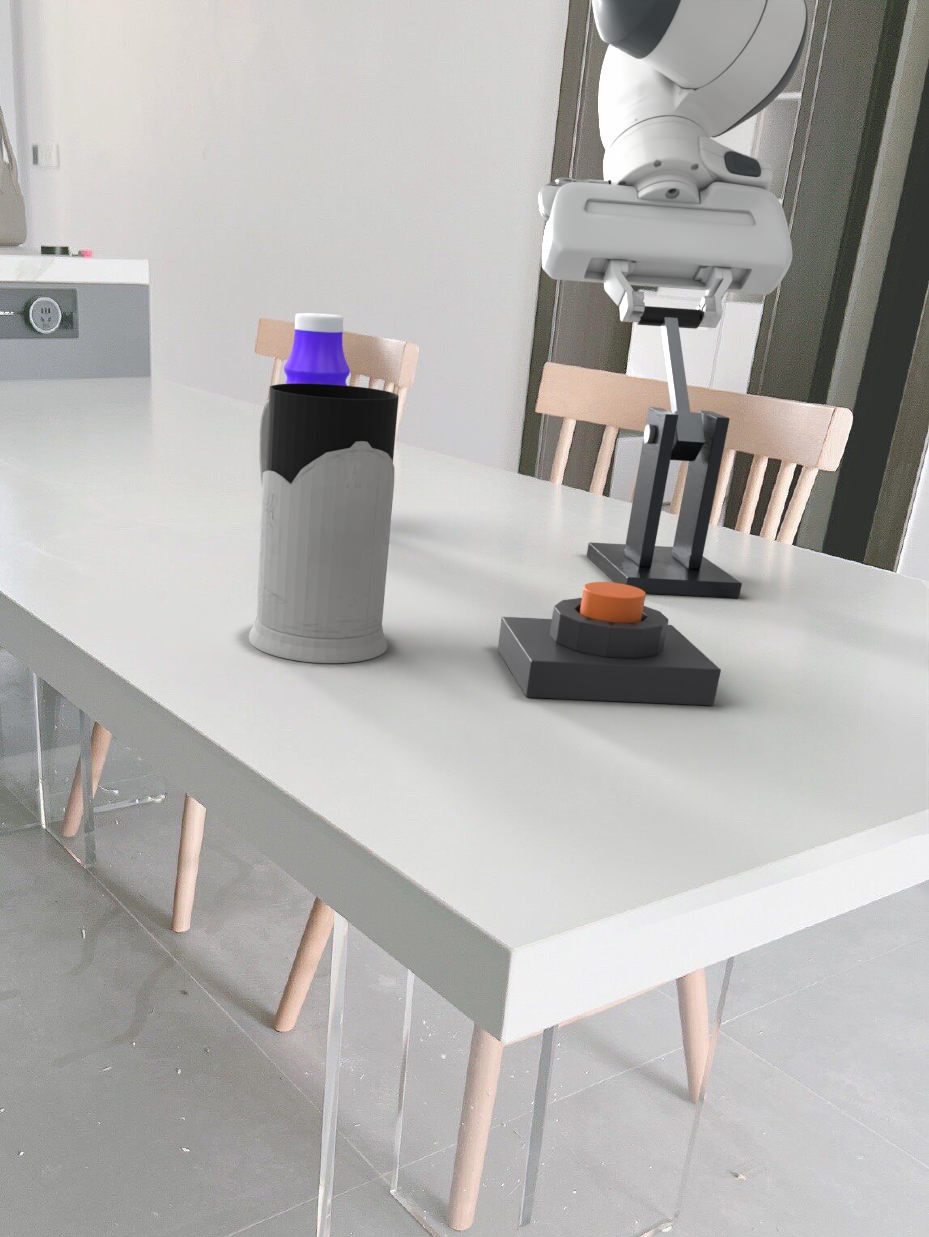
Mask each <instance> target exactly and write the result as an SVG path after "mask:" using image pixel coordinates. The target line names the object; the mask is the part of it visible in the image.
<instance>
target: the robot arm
mask: <svg viewBox="0 0 929 1237" xmlns="http://www.w3.org/2000/svg"><path fill="white" fill-rule="evenodd" d="M591 4H592V12H593V16H594V22H595V26H596V29H597V33H598V35H599V37H600V39H601V40H602V41H603V42H604V43H606V44H607V45H608V46H607V49H606V51H605V55H604V59H603V62H602V66H601V70H600V78H599V85H598V119H599V120H598V121H599V132H600V139H601V142H602V145H603V147H604V149H605V152H604V156H603V163H602V165H603V166H602V168H603V170H602V171H603V179H591V178H590V179H576V178H574V179H573V178H572V177H562V176H561V177H557V178H556V179H555V181H551V182H548V183H546V184H545V185H543V186H542V187H541V189H540V191H539V193H538V206H539V212H540V216H541V217H542V218H543V219H544V220H545V221H546V224H545V229H544V234H543V240H542V252H541V267H542V269H543V271H544V272H545V273H546V274H547V275H548V277H550V278H551V279H552V280H557V281H569V282H570V281H571V282H584V283H597V284H598V283H599V284H603V289H604V291H605V293H606V294H607V295H608V296H609V298H610V299H611V300H612V301H613V303H615V305H616V306H617V307H619V319H620V322H624V323H626V322H627V323H636V322H640V320H641V318H640V317H641V316H642V315H643V313H644V310H645V306H646V303H645V302H644V300H645V292H644V291H639V290H635V289H634V288H633V287H632V286H641V287H652V288H653V287H654V288H667V289H682V290H695V291H705V295H703V296H702V298H701V300H700V302H699V303H700V304H699V305H698V306H697V308H696V310H700V311H701V322H700V324H699V327H698V328H708V329H709V328H710V329H716V328H717V327H718V325H719V323H720V322H721V320H722V316H723V304H722V301H723V299H724V297H725V295H726V293H735V294H736V293H737V294H738V293H739V294H749V295H750V294H751V295H762V296H764V295H765V296H767V295H770V294H771V293H772V292H773V291H774V290H775V289H777V287H779V285H780V284H781V283H782V281H783V279H784V278H785V277H786V274H787V272H788V271H789V269H790V267H791V264H792V261H793V245H792V239H791V234H790V229H789V224H788V221H787V217H786V214H785V210H784V207H783V205H782V203H781V201H780V200H779V199H778V197H777V196H776V195H775V194H774V193H773V192H771V191H770V187H771V184H772V181H773V178H774V172H773V167H772V166H771V165H770V163H769V162H767V161H764V160H762V159H759V158H757V157H753V156H750V155H748V154H745V153H742V152H739V151H737V150H735V149H733V148H730V147H728V146H725V145H723V144H721V143H720V142H718V141H716V140H715V138H717V137H718V138H719V137H720V136H722V135H724V134H726V133H728V132H730V131H732V130H733V129H735V128H736V127H738V126H740V125H741V124H743V123H744V122H746V121H749V119H751V118H753V117H754V116H756V115H757V114H759V113H760V112H761V111H763V110H764V109H765V108H767V107H768V106H769V105H771V103H773V101H775V99H777V98H778V96H779V95H781V93H783V91H784V90H785V89H786V87H787V86H788V85H789V83H790V82H791V81H792V79H793V77H794V75H795V73H796V70H797V68H798V66H799V64H800V60H801V59H802V55H803V52H804V48H805V45H806V40H807V35H808V27H809V13H808V6H807V5H808V4H807V2H806V0H591Z"/></svg>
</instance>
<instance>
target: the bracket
mask: <svg viewBox="0 0 929 1237" xmlns="http://www.w3.org/2000/svg"><path fill="white" fill-rule="evenodd" d="M697 413H701V414H702V421H703V429H704V436H705V443H704V445H703V447H702V449H701V450H700V452H699V454H698V456H697V457H696V459H695V461H688V464H687V470H686V476H685V481H684V485H683V491H682V496H681V502H680V506H679V507H680V508H679V514H678V517H677V518H678V519H677V523H676V529H675V534H674V540H673V545H672V546H664V545H656V543H657V537H658V531H659V526H660V519H661V515H662V514H661V513H662V509H663V504H664V499H665V498H664V497H665V492H666V488H667V480H668V475H669V471H670V469H669V468H670V464H671V460H670V459H671V453H672V448H673V442H674V437H675V431H676V426H677V420H678V415H677V414H675V413H672V411H669V410H667V409H665V408H662V407H656V406H655V407H654V406H649V407H648V408H647V415H646V421H645V427H644V432H643V438H642V439H643V440H642V445H641V450H640V456H639V462H638V468H637V474H636V480H635V486H634V492H633V497H632V504H631V510H630V516H629V522H628V528H627V533H626V539H625V544H624V543H607V542H591V541H590V542H587V551H586V558H588V559H589V560H590V561H591V562H592V563H593V564H594V565H595V566H597V567H598V568H599V569H600V571H602V572H603V573H604V574H605V575H606V576H607V577H608V578H610V580H611V581H613V583H620V584H626V585H630V586H634V587H637V588H639V589H641V590H643V591H644V592H645V593H646V595H647V594H649V595H667V596H668V595H669V596H685V597H686V596H687V597H689V596H690V597H706V598H707V597H708V598H724V599H725V598H726V599H728V598H729V599H739V598H740V594H741V591H742V590H741V589H742V584H743V582H741V581H740V580H738V579H736V578H735V577H734V576H733V575H730V574H729V573H728V572H727V571H726V570H724V569H722V568H721V567H719V566H718V565H716V564H715V563H713V562H712V561H711V560H709V559H708V558H706V557H705V556H704V552H705V546H706V542H707V537H708V531H709V526H710V520H711V516H712V512H713V507H714V501H715V495H716V491H717V485H718V480H719V475H720V470H721V466H722V465H721V464H722V460H723V455H724V450H725V444H726V441H727V435H728V429H729V424H730V419H731V418H730V417H728V416H725V415H722V414H720V413H717V412H714V411H711V410H703V409H699V410H698V411H697Z"/></svg>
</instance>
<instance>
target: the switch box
mask: <svg viewBox="0 0 929 1237" xmlns="http://www.w3.org/2000/svg"><path fill="white" fill-rule="evenodd" d="M581 601H582V597H577V598H569V599H561V600H560V601H559V602H558V603H555V605H554V606H553V610H552V611H553V612H552V616H551V618H539V617H538V618H537V617H519V616H517V617H516V616H515V617H514V616H502V617H501V619H500V628H499V634H498V635H499V636H498V644H497V651H498V653H499V654H500V656H501V658H502V659H503V661H504V663H505V664H506V666H507V668H508V669H509V671H510V673H511V675H512V676H513V677H514V680H515V681H516V683H517V684H518V686H519V688H520V690H521V691H522V692H523V694H524V696H525V698H533V699H554V700H555V699H556V700H560V699H561V700H576V701H577V700H579V701H600V702H601V701H602V702H604V701H605V702H621V703H622V702H623V703H624V702H626V703H643V704H644V703H646V704H667V705H669V704H670V705H671V704H672V705H690V706H691V705H693V706H714V704H715V701H716V696H717V691H718V685H719V681H720V676H721V671H722V670H721V668H720V667H718V666H717V665H716V663H714V662H713V661H712V660H711V659H710V658H709V657H708V656H706V655H705V653H703V652H702V651H701V650H700V649H699V648H698V647H697V646H695V644H694V643H693V642H691V641H690V640H689V639H688V637H687V638H686V636H685V635H683V634H682V633H681V632H680V631H679V630H678V629H677V628H676V627H675V626H673V625H672V624H669V622H670V621H669V618H668V617H666V615H665V614H663V613H662V612H661V611H660V610H657V609H655V608H652V607H648V606H646V605H644V607H643V613H642V618H641V622H634V623H622V622H609V621H604V620H598V619H593V618H589V617H587V616H584V615H581V614H580V607H581Z"/></svg>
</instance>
